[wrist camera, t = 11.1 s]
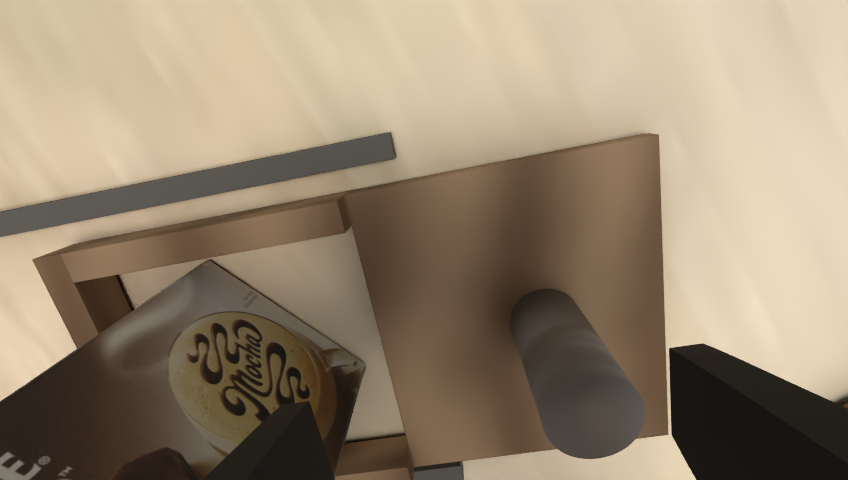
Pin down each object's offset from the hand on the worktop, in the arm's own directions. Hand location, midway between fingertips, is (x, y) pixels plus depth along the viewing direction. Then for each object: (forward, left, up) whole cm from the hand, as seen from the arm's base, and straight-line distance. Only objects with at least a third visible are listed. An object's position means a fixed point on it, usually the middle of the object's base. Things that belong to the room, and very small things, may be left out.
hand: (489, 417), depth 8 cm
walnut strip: (+5, +4, -10) cm, 12 cm away
